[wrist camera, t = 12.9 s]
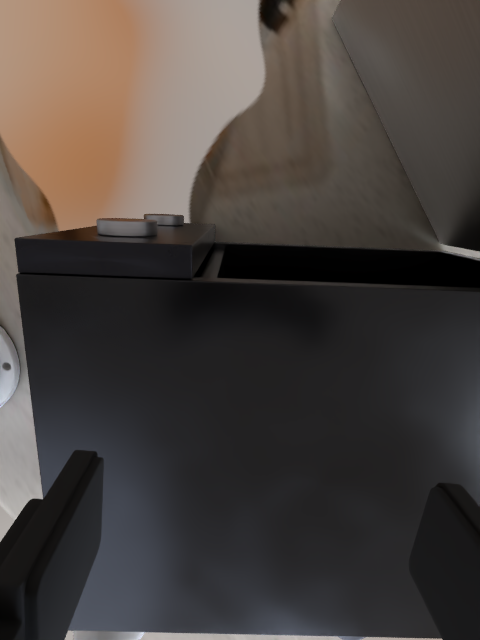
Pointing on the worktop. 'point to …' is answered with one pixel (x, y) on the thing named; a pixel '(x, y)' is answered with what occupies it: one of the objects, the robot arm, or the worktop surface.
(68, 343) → the microwave
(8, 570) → the robot arm
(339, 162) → the worktop surface
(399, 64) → the microwave door
